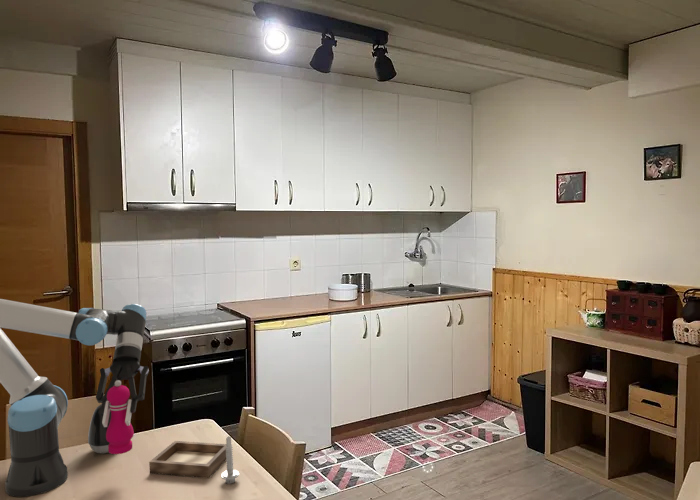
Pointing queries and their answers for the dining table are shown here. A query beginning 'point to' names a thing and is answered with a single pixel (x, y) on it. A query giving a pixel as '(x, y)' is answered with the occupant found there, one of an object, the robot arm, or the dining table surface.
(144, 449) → the dining table surface
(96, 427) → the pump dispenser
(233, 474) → the screw
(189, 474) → the walnut tray
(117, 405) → the pepper mill
